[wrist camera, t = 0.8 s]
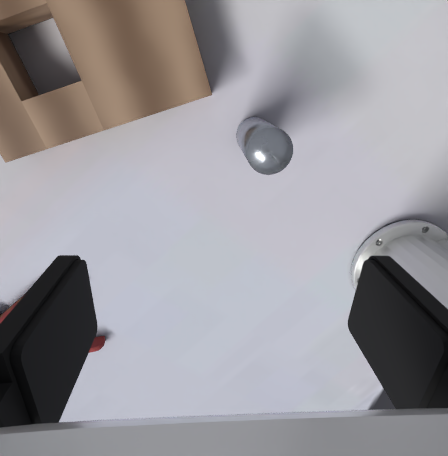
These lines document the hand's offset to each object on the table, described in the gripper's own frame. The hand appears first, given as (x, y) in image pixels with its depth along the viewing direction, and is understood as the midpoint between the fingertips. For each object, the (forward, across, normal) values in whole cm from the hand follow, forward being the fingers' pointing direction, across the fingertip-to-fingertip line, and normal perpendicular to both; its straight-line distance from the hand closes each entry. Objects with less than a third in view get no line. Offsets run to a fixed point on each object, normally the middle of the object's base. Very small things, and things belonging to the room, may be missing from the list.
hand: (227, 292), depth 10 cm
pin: (+24, -4, -2) cm, 25 cm away
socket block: (+24, +12, -9) cm, 28 cm away
